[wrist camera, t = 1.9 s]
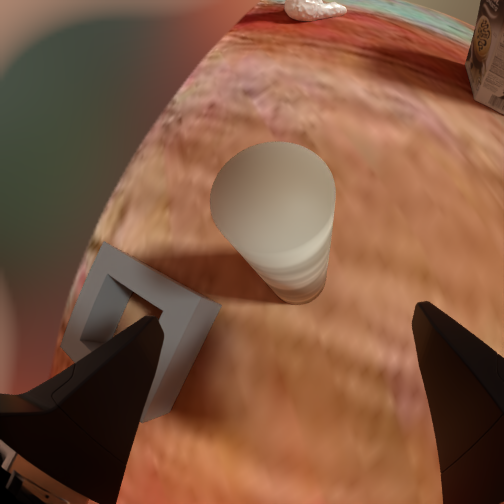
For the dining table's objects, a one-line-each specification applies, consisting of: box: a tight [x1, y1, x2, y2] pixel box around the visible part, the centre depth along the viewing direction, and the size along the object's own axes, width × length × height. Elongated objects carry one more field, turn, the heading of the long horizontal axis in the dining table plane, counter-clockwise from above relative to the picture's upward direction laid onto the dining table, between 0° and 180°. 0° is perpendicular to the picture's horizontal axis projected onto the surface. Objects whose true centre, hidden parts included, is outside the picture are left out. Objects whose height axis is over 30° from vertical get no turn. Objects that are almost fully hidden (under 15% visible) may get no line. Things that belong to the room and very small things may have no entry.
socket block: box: [60, 242, 222, 423], centre depth 20 cm, size 10×10×4 cm
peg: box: [210, 142, 336, 305], centre depth 14 cm, size 4×4×12 cm
